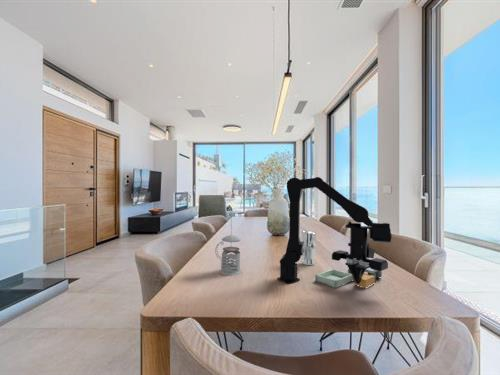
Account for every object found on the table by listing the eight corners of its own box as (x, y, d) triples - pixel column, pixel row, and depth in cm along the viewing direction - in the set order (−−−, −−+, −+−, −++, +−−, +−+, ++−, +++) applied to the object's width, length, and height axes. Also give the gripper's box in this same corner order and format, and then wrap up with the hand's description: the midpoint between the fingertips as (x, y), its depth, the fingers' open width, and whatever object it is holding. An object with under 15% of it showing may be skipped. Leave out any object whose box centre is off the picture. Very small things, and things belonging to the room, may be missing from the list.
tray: (336, 288, 97) (336, 281, 97) (315, 281, 104) (315, 274, 103) (353, 281, 104) (353, 274, 104) (332, 274, 111) (333, 268, 111)
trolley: (371, 283, 102) (371, 268, 102) (347, 276, 110) (347, 262, 110) (382, 277, 108) (382, 264, 108) (358, 271, 116) (358, 258, 116)
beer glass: (298, 264, 126) (299, 232, 125) (303, 260, 132) (303, 230, 132) (313, 266, 122) (314, 233, 122) (317, 262, 129) (317, 231, 128)
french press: (239, 276, 109) (239, 214, 108) (211, 273, 111) (212, 213, 111) (244, 268, 118) (245, 212, 118) (219, 266, 120) (219, 211, 120)
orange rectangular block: (365, 289, 97) (365, 280, 97) (354, 286, 100) (355, 277, 100) (374, 285, 101) (374, 276, 101) (364, 282, 104) (364, 273, 104)
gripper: (395, 242, 96) (394, 285, 96) (346, 234, 110) (346, 272, 110) (380, 246, 88) (380, 293, 89) (331, 237, 103) (330, 278, 103)
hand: (357, 283), depth 98 cm, fingers closed
